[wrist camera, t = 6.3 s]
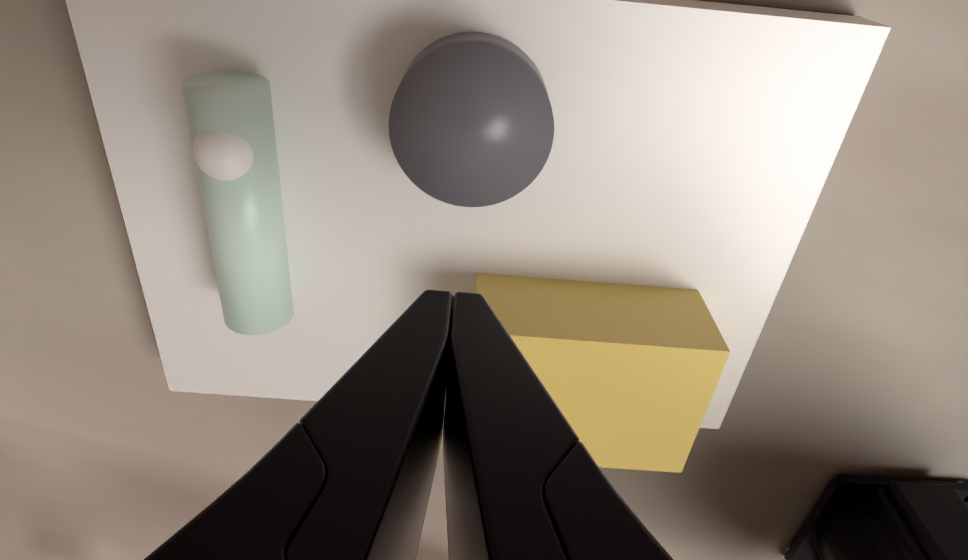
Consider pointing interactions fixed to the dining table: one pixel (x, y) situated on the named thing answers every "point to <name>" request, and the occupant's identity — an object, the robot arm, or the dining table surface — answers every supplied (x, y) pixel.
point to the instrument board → (375, 242)
